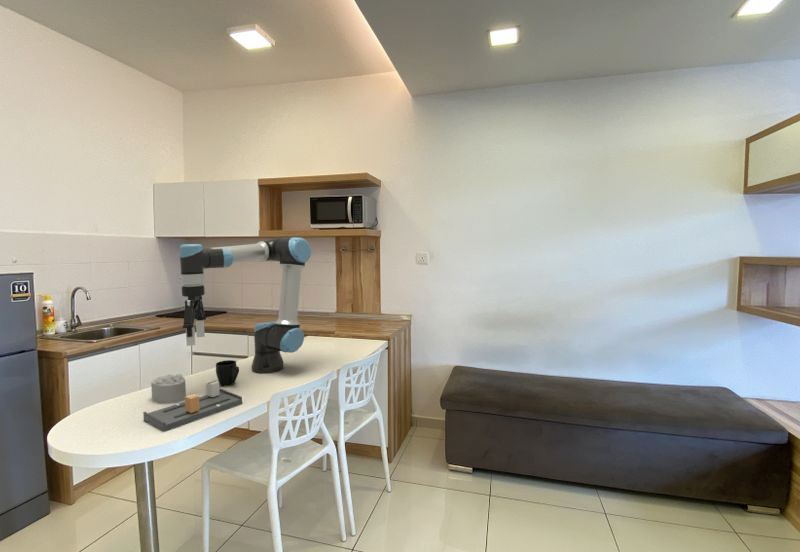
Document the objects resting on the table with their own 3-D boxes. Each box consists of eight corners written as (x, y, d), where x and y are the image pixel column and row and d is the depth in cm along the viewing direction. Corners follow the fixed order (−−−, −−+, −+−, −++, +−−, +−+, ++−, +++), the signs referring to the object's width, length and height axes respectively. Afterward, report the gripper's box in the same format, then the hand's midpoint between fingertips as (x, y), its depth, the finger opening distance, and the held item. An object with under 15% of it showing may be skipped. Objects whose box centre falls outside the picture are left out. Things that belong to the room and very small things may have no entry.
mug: (229, 390, 165) (228, 368, 164) (212, 385, 171) (211, 363, 170) (246, 384, 171) (245, 363, 171) (229, 379, 178) (228, 359, 177)
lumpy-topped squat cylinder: (175, 391, 164) (174, 370, 164) (192, 397, 157) (191, 376, 157) (148, 399, 155) (147, 377, 155) (165, 406, 148) (164, 383, 148)
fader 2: (214, 392, 155) (213, 379, 155) (219, 394, 153) (219, 381, 152) (206, 395, 153) (205, 381, 152) (211, 397, 150) (211, 383, 150)
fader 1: (193, 407, 141) (193, 393, 140) (199, 410, 138) (199, 395, 138) (184, 410, 138) (184, 395, 138) (190, 413, 136) (190, 398, 136)
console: (220, 395, 159) (220, 388, 159) (242, 403, 150) (241, 396, 150) (143, 420, 136) (143, 412, 136) (163, 431, 128) (163, 423, 127)
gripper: (191, 282, 159) (194, 334, 161) (170, 289, 135) (174, 350, 137) (211, 281, 161) (214, 333, 162) (194, 288, 137) (198, 348, 138)
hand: (196, 340), depth 150 cm, fingers open, 13 cm apart
